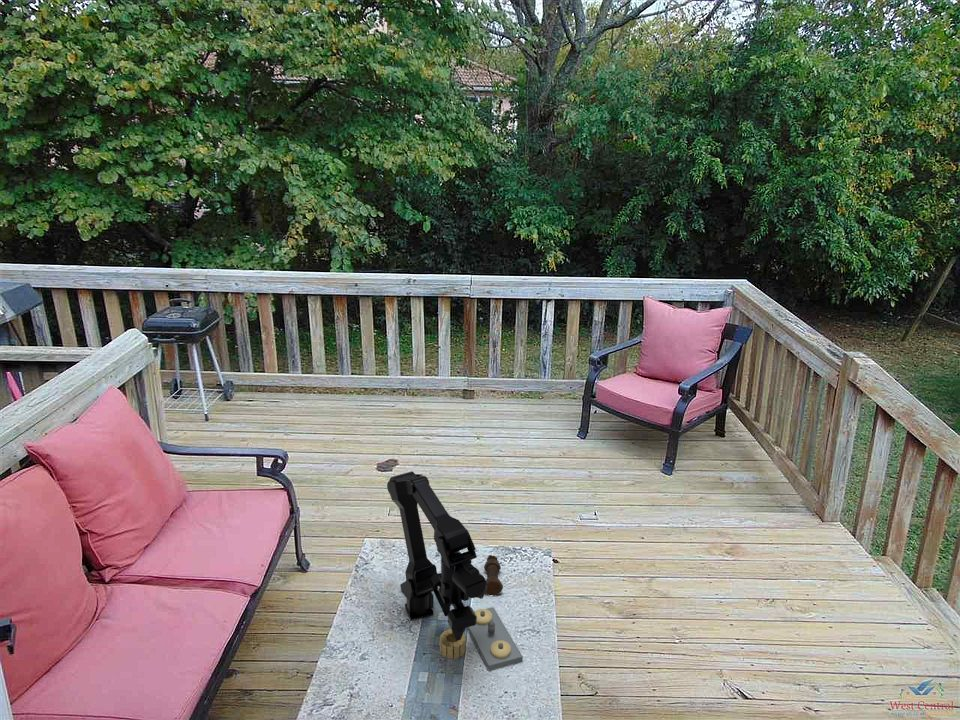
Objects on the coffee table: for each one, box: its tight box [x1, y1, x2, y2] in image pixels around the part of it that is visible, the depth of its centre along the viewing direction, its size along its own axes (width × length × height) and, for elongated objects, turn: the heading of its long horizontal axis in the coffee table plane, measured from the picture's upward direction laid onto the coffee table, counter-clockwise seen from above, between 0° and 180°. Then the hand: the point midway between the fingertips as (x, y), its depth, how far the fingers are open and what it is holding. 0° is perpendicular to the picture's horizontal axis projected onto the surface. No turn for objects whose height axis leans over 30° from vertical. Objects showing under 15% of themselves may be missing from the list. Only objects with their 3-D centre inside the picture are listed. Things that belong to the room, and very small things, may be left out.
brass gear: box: [439, 628, 467, 660], centre depth 165 cm, size 6×6×4 cm
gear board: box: [466, 606, 524, 672], centre depth 168 cm, size 9×20×6 cm, turn 21°
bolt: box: [483, 554, 504, 597], centre depth 192 cm, size 6×5×15 cm
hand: (452, 627), depth 163 cm, fingers open, 9 cm apart
